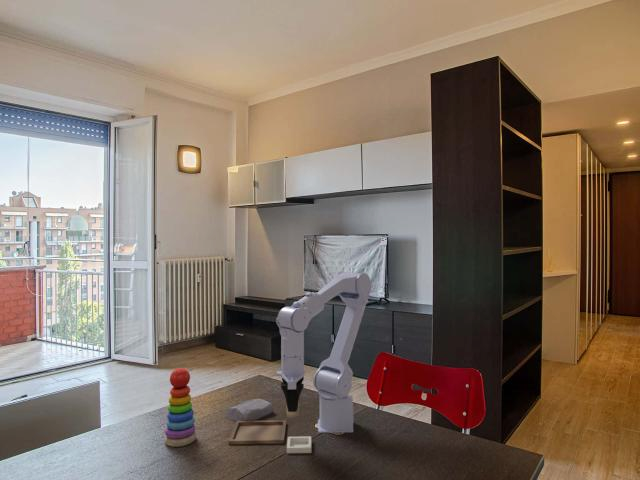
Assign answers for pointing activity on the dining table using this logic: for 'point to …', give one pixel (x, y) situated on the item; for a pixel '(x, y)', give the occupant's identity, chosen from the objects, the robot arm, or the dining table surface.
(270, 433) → the tray
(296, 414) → the dowel
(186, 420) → the stacking toy
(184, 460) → the dining table surface
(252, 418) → the stone block
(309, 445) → the holder
